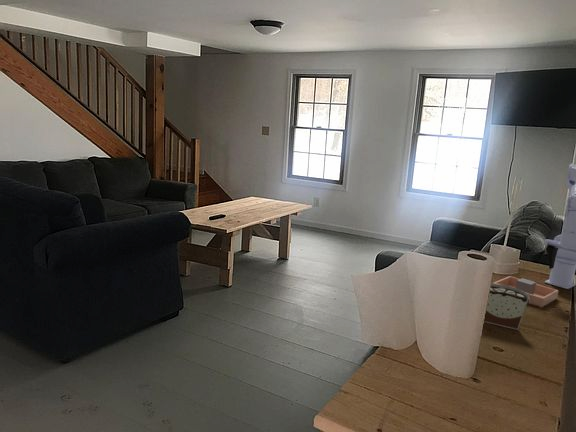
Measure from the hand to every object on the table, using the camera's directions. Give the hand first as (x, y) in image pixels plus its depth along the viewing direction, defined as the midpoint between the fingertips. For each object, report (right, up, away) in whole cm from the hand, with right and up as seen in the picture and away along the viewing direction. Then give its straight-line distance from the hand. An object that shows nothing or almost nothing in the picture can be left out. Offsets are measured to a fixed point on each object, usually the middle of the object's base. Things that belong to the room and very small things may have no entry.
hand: (563, 271), depth 156 cm
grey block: (-12, -8, +2) cm, 14 cm away
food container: (-31, -12, -23) cm, 40 cm away
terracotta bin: (-12, -8, +2) cm, 15 cm away
